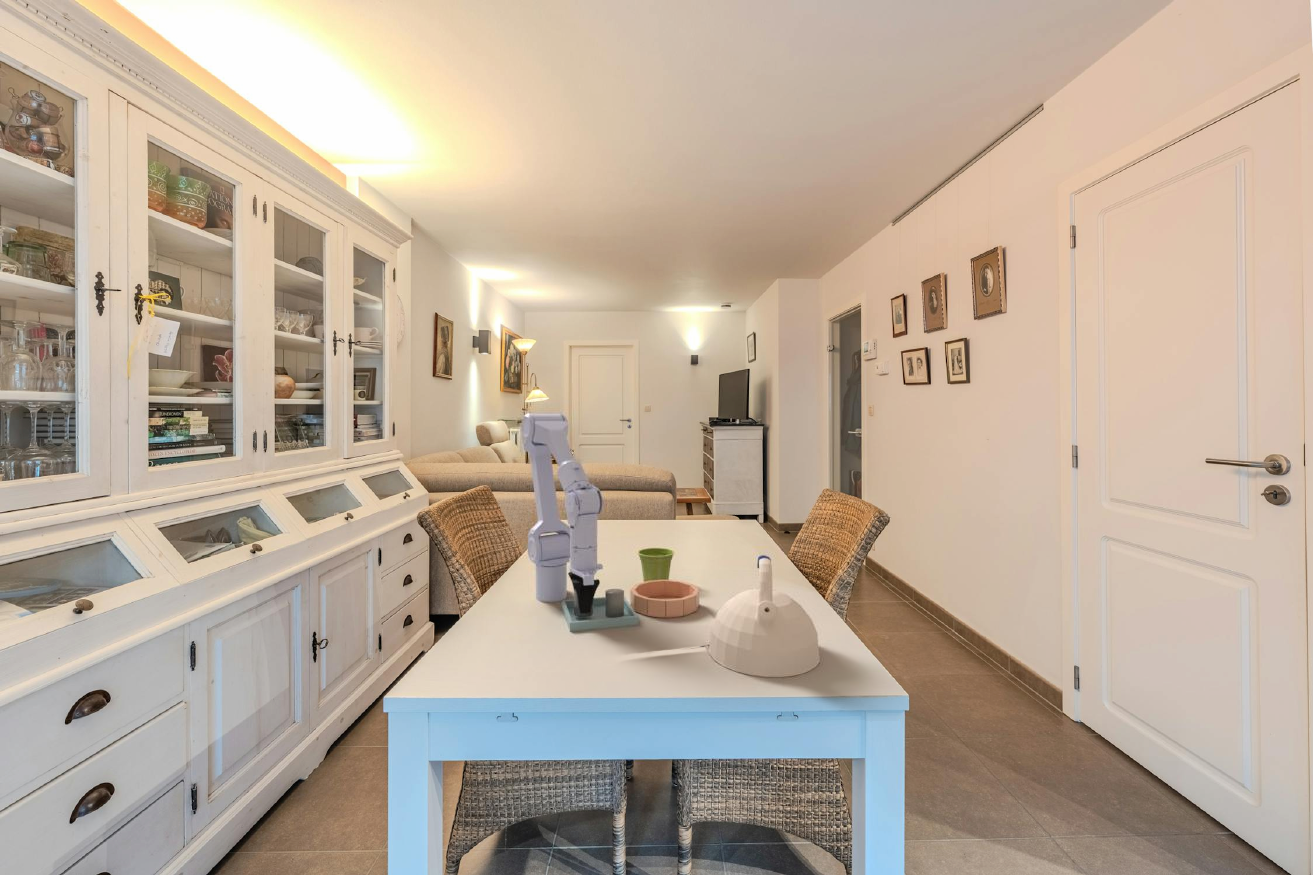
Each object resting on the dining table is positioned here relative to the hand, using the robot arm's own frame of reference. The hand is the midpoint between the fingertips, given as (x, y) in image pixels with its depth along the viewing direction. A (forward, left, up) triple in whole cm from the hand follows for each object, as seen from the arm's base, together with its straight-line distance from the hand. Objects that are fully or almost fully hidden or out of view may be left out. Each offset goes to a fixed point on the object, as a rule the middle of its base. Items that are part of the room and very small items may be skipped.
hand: (583, 608), depth 121 cm
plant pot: (-20, +22, -3) cm, 30 cm away
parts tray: (0, +3, -3) cm, 4 cm away
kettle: (+25, +30, -3) cm, 39 cm away
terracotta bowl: (-2, +19, -3) cm, 19 cm away
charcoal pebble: (0, 0, -1) cm, 1 cm away
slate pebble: (0, +7, -2) cm, 7 cm away
